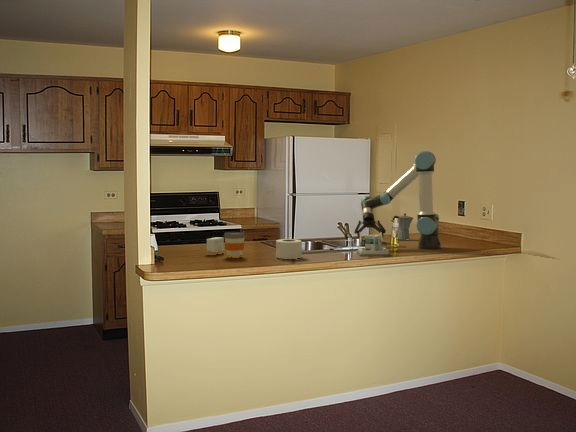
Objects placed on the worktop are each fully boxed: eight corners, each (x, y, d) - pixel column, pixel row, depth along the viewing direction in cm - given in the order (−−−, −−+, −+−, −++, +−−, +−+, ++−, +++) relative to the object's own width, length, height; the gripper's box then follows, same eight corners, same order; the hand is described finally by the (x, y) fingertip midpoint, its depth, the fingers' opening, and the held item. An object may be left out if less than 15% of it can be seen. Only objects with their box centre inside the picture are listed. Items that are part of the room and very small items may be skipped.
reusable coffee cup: (221, 256, 385) (221, 232, 384) (241, 255, 390) (240, 231, 389) (228, 259, 373) (227, 234, 372) (247, 258, 378) (247, 233, 377)
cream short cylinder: (306, 258, 379) (306, 240, 378) (287, 260, 368) (287, 242, 368) (289, 255, 390) (289, 238, 389) (270, 257, 380) (270, 240, 379)
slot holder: (385, 251, 405) (385, 247, 404) (390, 256, 386) (390, 251, 385) (356, 251, 405) (356, 247, 404) (359, 256, 386) (359, 251, 385)
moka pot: (413, 240, 463) (413, 213, 461) (392, 240, 466) (392, 213, 464) (413, 239, 472) (413, 212, 470) (392, 239, 475) (392, 212, 473)
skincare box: (216, 253, 401) (215, 236, 400) (224, 253, 398) (224, 237, 397) (206, 255, 392) (206, 238, 391) (214, 255, 389) (214, 239, 388)
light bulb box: (374, 253, 389) (374, 236, 388) (364, 253, 392) (364, 235, 391) (381, 251, 398) (381, 234, 397) (371, 250, 401) (371, 234, 400)
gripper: (386, 219, 420) (389, 244, 406) (349, 219, 420) (351, 244, 406) (387, 212, 414) (391, 237, 401) (349, 212, 414) (352, 237, 401)
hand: (371, 241), depth 403 cm, fingers open, 13 cm apart
